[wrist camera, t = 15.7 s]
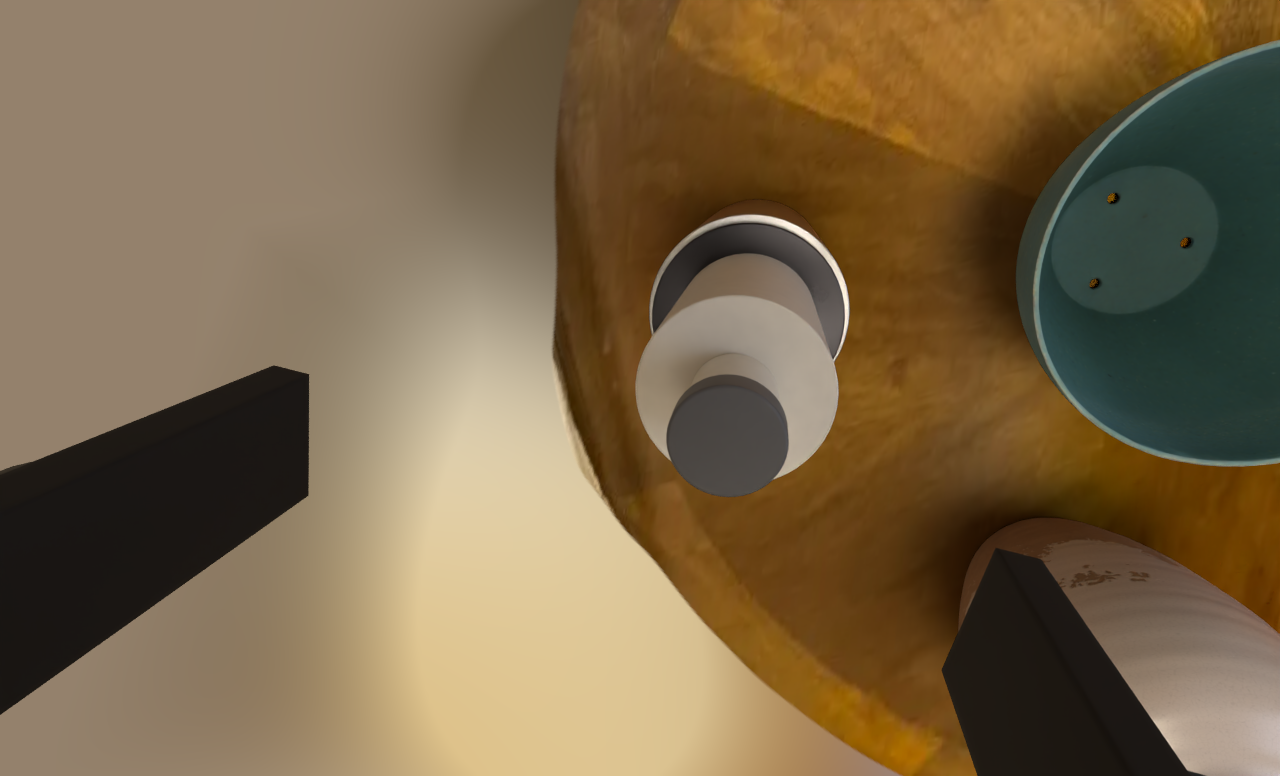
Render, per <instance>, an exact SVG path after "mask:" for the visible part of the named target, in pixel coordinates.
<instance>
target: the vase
mask: <svg viewBox="0 0 1280 776" xmlns="http://www.w3.org/2000/svg"><path fill="white" fill-rule="evenodd" d="M995 548H999V549H1003V550H1007V551H1011V552H1015V553H1019V554H1023V555H1027V556H1031V557H1035V558H1038V559H1041V560H1042V561H1043V562H1044V564H1045V565H1046V567H1047V568H1048V570H1049V571H1050V573H1051V574H1052V575H1053V577H1054V578H1055V580H1056V581H1057V583H1058V584H1059V586H1060V587H1061V589H1062V590H1063V591H1064V593H1065V594H1066V596H1067V597H1068V599H1069V600H1070V602H1071V603H1072V604H1073V606H1074V607H1075V609H1076V610H1077V612H1078V613H1079V615H1080V616H1081V617H1082V619H1083V620H1084V622H1085V623H1086V625H1087V626H1088V628H1089V629H1090V630H1091V632H1092V633H1093V635H1094V636H1095V638H1096V639H1097V641H1098V642H1099V643H1100V645H1101V646H1102V648H1103V649H1104V651H1105V652H1106V654H1107V655H1108V656H1109V658H1110V659H1111V661H1112V662H1113V664H1114V665H1115V667H1116V668H1117V669H1118V671H1119V672H1120V674H1121V675H1122V677H1123V678H1124V680H1125V681H1126V683H1127V684H1128V685H1129V687H1130V688H1131V690H1132V691H1133V693H1134V694H1135V696H1136V697H1137V698H1138V700H1139V701H1140V703H1141V704H1142V706H1143V707H1144V709H1145V710H1146V711H1147V713H1148V714H1149V716H1150V717H1151V719H1152V720H1153V722H1154V723H1155V724H1156V726H1157V727H1158V729H1159V730H1160V732H1161V733H1162V735H1163V736H1164V737H1165V739H1166V740H1167V742H1168V743H1169V745H1170V746H1171V748H1172V749H1173V750H1174V752H1175V753H1176V755H1177V756H1178V758H1179V759H1180V761H1181V762H1182V763H1183V765H1184V766H1185V768H1186V769H1187V770H1188V771H1191V772H1195V773H1199V774H1202V775H1206V776H1280V634H1279V633H1278V632H1276V631H1275V630H1274V629H1273V628H1272V627H1271V626H1269V625H1268V624H1267V623H1266V622H1265V621H1263V620H1262V619H1261V618H1260V617H1259V616H1257V615H1256V614H1255V613H1253V612H1252V611H1250V610H1249V609H1248V608H1246V607H1245V606H1243V605H1242V604H1241V603H1239V602H1238V601H1236V600H1235V599H1233V598H1232V597H1230V596H1229V595H1228V594H1226V593H1225V592H1223V591H1222V590H1220V589H1219V588H1217V587H1216V586H1214V585H1212V584H1211V583H1209V582H1208V581H1206V580H1205V579H1203V578H1202V577H1200V576H1199V575H1197V574H1196V573H1194V572H1192V571H1191V570H1189V569H1188V568H1186V567H1184V566H1183V565H1181V564H1180V563H1178V562H1176V561H1174V560H1172V559H1170V558H1169V557H1167V556H1165V555H1163V554H1161V553H1159V552H1157V551H1155V550H1153V549H1151V548H1149V547H1147V546H1144V545H1142V544H1140V543H1138V542H1136V541H1134V540H1131V539H1129V538H1127V537H1125V536H1122V535H1119V534H1116V533H1113V532H1110V531H1107V530H1104V529H1101V528H1098V527H1095V526H1092V525H1089V524H1086V523H1082V522H1078V521H1073V520H1067V519H1061V518H1033V519H1027V520H1023V521H1019V522H1016V523H1013V524H1011V525H1008V526H1006V527H1004V528H1002V529H1000V530H999V531H997V532H996V533H994V534H993V535H991V536H990V537H989V538H988V539H987V540H986V541H985V542H984V543H983V544H982V545H981V546H980V548H979V549H978V550H977V552H976V553H975V555H974V557H973V559H972V561H971V563H970V565H969V567H968V570H967V573H966V577H965V580H964V586H963V591H962V596H961V602H960V610H959V625H958V632H959V629H960V627H961V625H962V623H963V620H964V618H965V616H966V614H967V611H968V609H969V607H970V604H971V602H972V600H973V598H974V595H975V593H976V591H977V589H978V586H979V584H980V582H981V580H982V577H983V575H984V573H985V570H986V568H987V566H988V564H989V561H990V559H991V557H992V555H993V552H994V550H995Z"/></svg>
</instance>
